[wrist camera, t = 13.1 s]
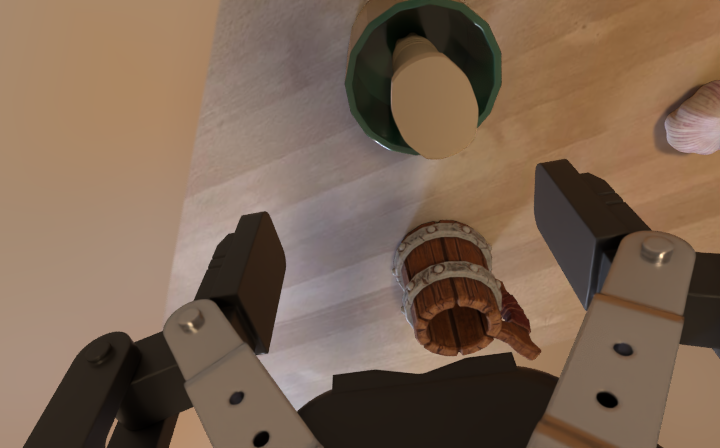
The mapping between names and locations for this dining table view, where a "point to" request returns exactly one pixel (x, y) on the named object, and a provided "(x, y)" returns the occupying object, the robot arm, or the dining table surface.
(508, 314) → the mug
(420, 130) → the handle
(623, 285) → the robot arm
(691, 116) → the garlic bulb
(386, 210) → the dining table surface
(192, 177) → the dining table surface
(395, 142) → the cup
